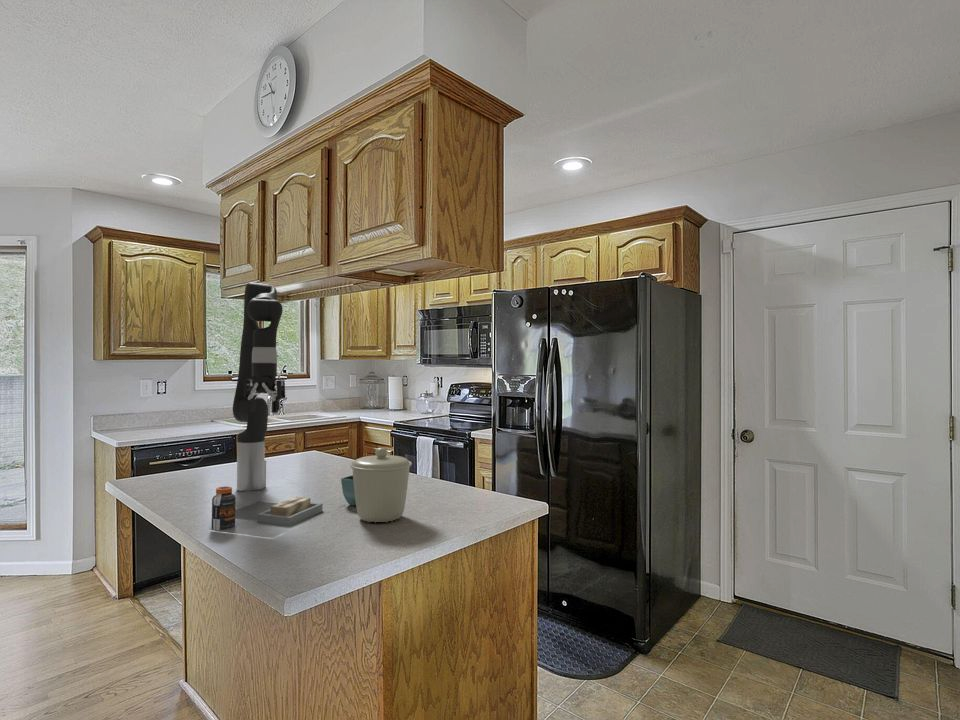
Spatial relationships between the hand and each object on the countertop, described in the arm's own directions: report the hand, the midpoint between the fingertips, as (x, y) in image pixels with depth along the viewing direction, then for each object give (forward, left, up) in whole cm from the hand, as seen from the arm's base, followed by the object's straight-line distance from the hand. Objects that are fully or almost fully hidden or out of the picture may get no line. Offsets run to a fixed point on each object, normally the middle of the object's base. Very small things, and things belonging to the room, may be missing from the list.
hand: (263, 412), depth 176 cm
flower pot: (-12, +28, -30) cm, 43 cm away
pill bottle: (+23, +5, -30) cm, 38 cm away
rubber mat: (+6, +3, -30) cm, 31 cm away
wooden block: (+8, +17, -30) cm, 35 cm away
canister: (0, +42, -30) cm, 52 cm away
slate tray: (+8, +17, -30) cm, 35 cm away
